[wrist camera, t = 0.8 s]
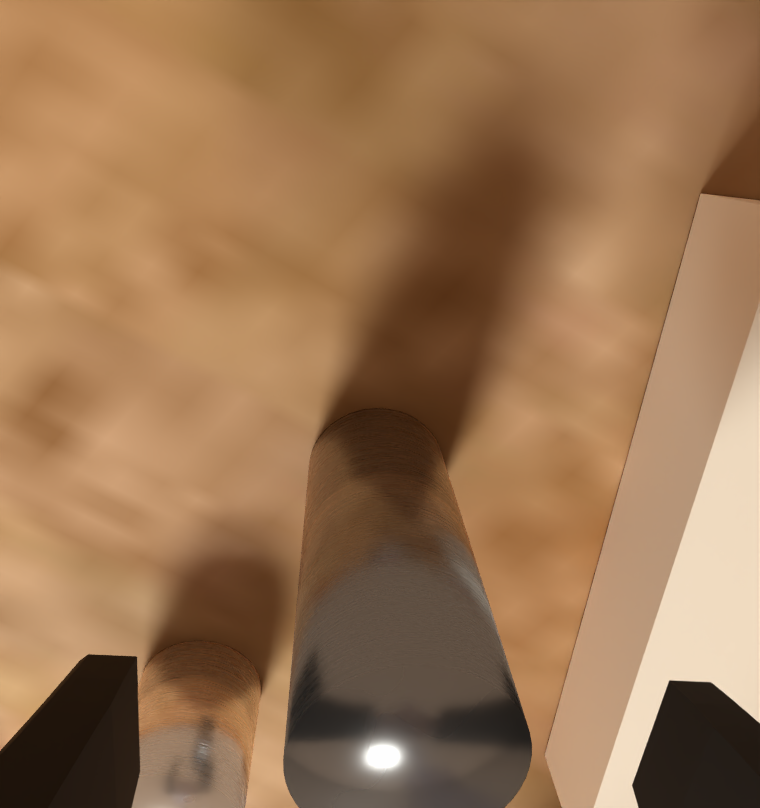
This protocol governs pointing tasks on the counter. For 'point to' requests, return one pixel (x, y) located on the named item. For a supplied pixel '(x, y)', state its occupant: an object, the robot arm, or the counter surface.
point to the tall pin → (395, 635)
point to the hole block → (676, 525)
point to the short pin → (196, 727)
